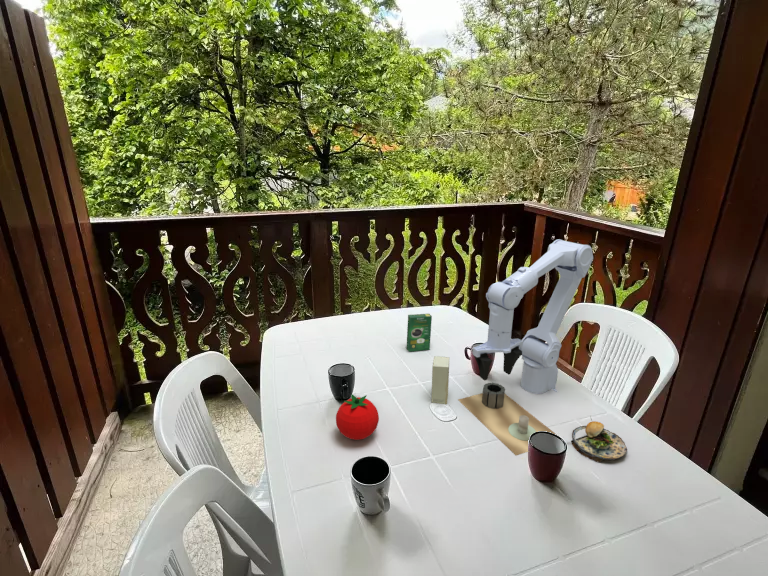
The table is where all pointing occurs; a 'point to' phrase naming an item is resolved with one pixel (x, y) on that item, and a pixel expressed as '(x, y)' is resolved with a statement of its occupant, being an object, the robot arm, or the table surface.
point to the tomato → (357, 418)
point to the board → (506, 422)
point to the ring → (493, 395)
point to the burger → (598, 443)
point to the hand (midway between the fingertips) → (495, 375)
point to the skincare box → (440, 380)
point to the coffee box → (418, 332)
